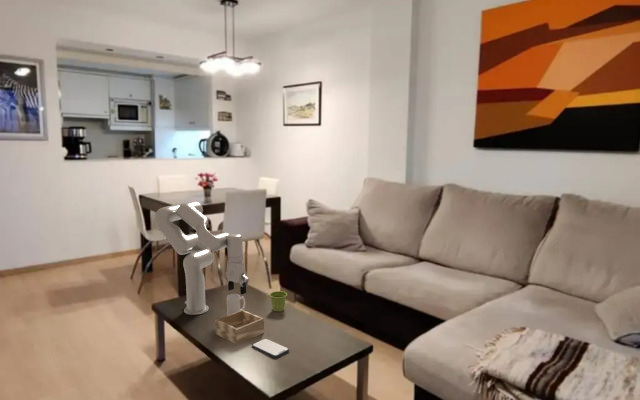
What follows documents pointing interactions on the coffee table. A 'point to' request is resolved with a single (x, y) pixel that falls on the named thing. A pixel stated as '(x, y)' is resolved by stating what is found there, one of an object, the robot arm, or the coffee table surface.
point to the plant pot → (278, 300)
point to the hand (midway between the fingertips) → (237, 291)
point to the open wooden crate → (239, 326)
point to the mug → (234, 303)
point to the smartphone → (270, 348)
